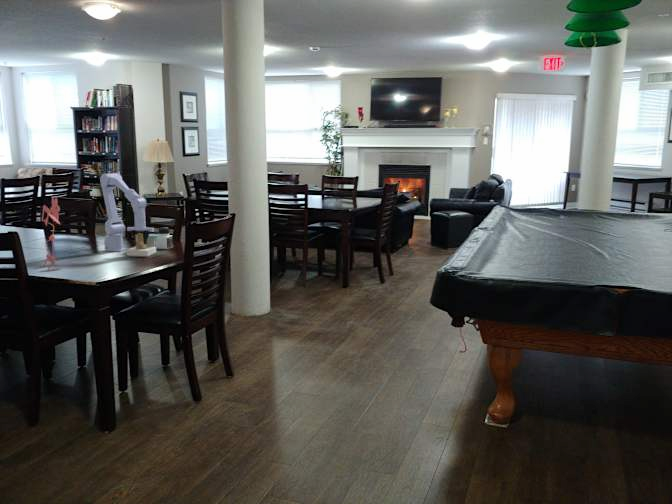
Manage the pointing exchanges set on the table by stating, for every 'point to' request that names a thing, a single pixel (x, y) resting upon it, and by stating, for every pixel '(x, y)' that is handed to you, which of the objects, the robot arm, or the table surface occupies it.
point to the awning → (152, 240)
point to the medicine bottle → (164, 239)
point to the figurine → (55, 217)
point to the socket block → (141, 251)
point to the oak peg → (140, 241)
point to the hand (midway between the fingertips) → (141, 244)
